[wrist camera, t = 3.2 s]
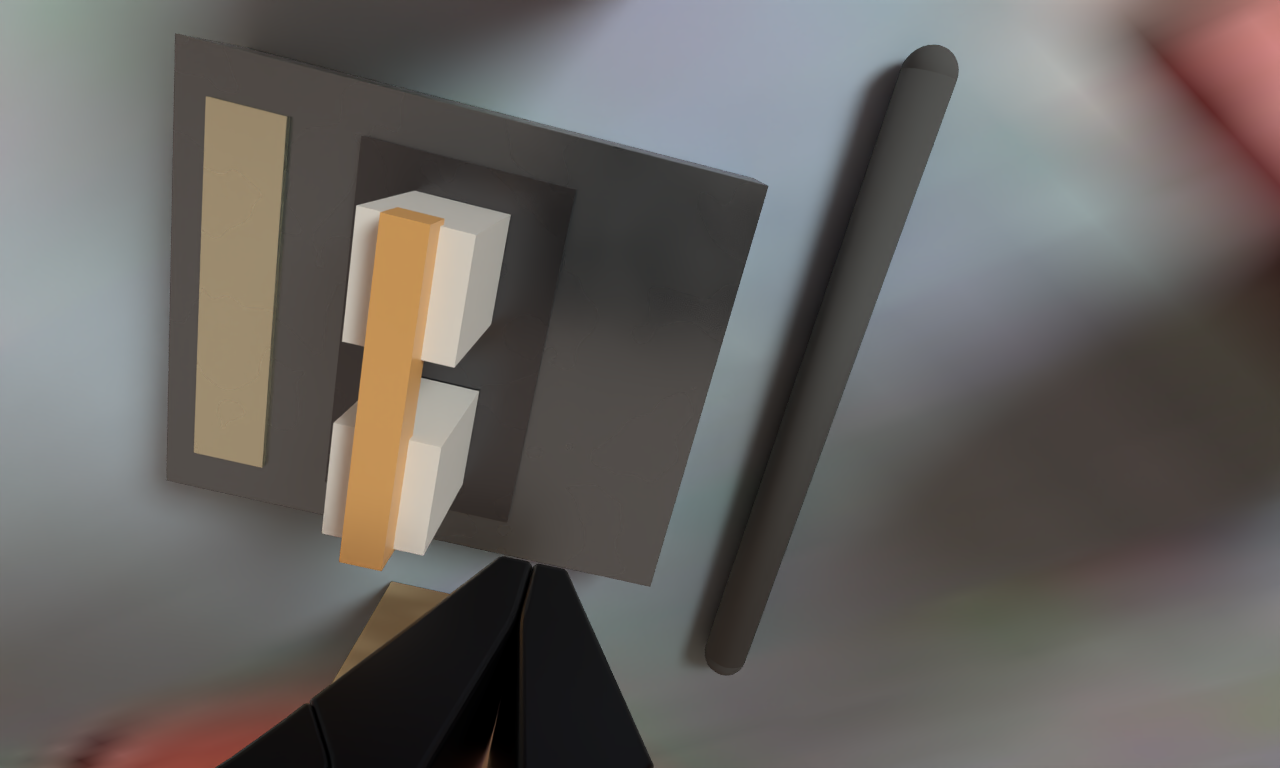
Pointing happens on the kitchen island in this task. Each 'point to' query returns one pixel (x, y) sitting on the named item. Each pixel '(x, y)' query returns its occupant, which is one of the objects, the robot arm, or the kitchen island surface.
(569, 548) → the breaker panel
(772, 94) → the kitchen island surface
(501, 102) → the kitchen island surface
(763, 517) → the dark gray rod
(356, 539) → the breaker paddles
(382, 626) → the oak post
